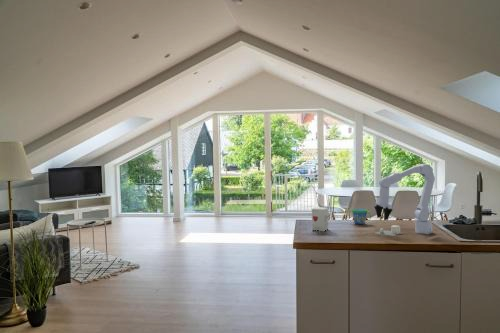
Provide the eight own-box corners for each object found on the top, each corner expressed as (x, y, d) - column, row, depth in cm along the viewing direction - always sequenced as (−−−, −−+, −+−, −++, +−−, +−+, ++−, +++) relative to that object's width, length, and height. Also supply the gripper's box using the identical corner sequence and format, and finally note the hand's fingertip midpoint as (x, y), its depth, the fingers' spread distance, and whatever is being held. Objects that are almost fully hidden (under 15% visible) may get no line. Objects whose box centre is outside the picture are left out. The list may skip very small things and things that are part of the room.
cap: (401, 232, 265) (401, 226, 265) (397, 233, 262) (397, 227, 262) (394, 231, 269) (394, 225, 269) (390, 232, 266) (389, 226, 266)
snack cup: (372, 223, 309) (372, 209, 309) (368, 225, 300) (368, 211, 300) (351, 221, 317) (351, 208, 317) (346, 224, 308) (346, 210, 308)
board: (403, 235, 265) (403, 228, 265) (393, 238, 257) (393, 231, 257) (384, 232, 275) (384, 225, 275) (374, 235, 266) (373, 228, 266)
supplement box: (311, 230, 286) (311, 208, 285) (315, 228, 294) (315, 206, 293) (324, 231, 281) (324, 209, 281) (328, 229, 289) (328, 207, 289)
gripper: (371, 195, 272) (370, 216, 273) (385, 198, 258) (383, 220, 259) (381, 195, 274) (379, 216, 275) (395, 198, 261) (393, 220, 261)
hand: (382, 218), depth 267 cm, fingers open, 7 cm apart
